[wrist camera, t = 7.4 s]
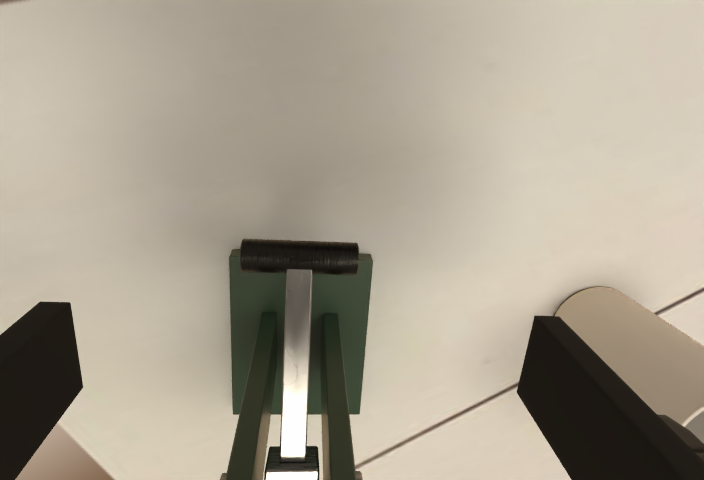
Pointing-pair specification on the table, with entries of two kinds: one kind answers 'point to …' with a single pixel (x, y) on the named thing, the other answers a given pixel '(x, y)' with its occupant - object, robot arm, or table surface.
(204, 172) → the table surface
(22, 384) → the robot arm
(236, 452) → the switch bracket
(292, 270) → the lever
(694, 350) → the mug
